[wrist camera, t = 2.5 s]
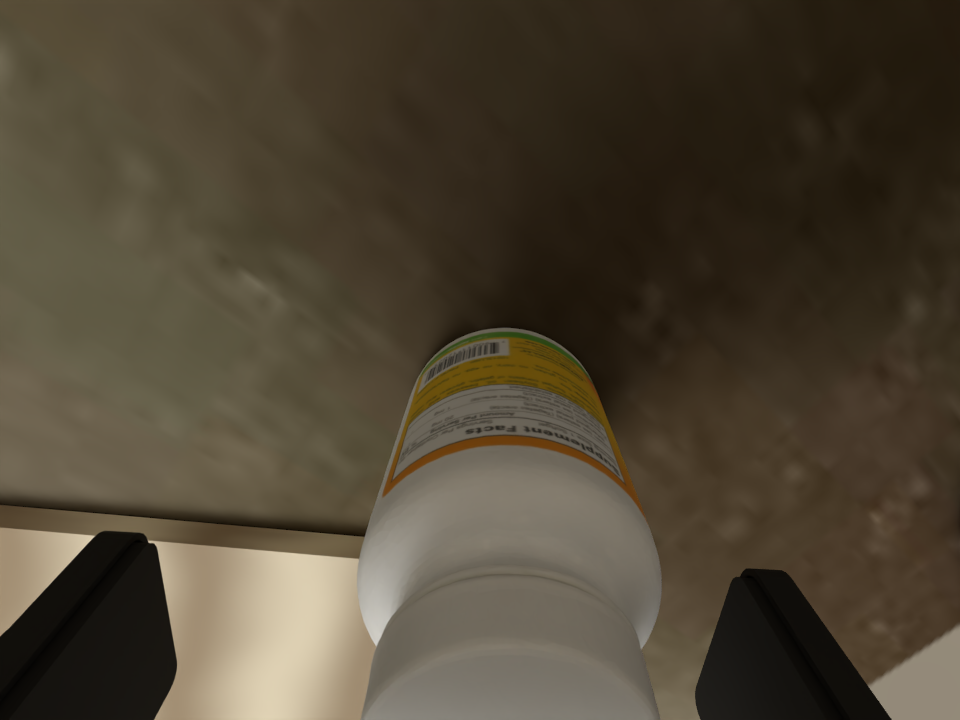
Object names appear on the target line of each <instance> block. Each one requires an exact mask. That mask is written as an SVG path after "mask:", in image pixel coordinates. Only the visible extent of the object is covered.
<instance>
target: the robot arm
mask: <svg viewBox="0 0 960 720" xmlns="http://www.w3.org/2000/svg"><path fill="white" fill-rule="evenodd" d="M176 672H177V658H176V652H175V646H174V641H173V635H172V629H171V624H170V618H169V612H168V606H167V601H166V595H165V589H164V584H163V578H162V572H161V566H160V561H159V555H158V550H157V547H156V545H155V544H154V543H148V540H147V537H146V536H145V535H144V533H137V532H120V531H102V532H100V533H98V534H97V535H96V536H95V537H93V539H92V540H91V541H90V542H89V543H88V544H87V545H86V546H85V547H84V548H83V549H82V550H81V551H80V553H79V554H78V555H77V556H76V557H75V558H74V559H73V560H72V561H71V562H70V563H69V564H68V565H67V566H66V568H65V569H64V570H63V571H62V572H61V573H60V574H59V575H58V576H57V577H56V578H55V579H54V580H53V581H52V583H51V584H50V585H49V586H48V587H47V588H46V589H45V590H44V591H43V592H42V593H41V594H40V595H39V596H38V598H37V599H36V600H35V601H34V602H33V603H32V604H31V605H30V606H29V607H28V608H27V609H26V610H25V611H24V613H23V614H22V615H21V616H20V617H19V618H18V619H17V620H16V621H15V622H14V623H13V624H12V625H11V627H10V628H9V629H7V630H6V631H5V632H4V633H3V634H2V635H1V636H0V720H154V719H155V717H156V715H157V713H158V712H159V710H160V708H161V706H162V704H163V702H164V700H165V699H166V697H167V695H168V693H169V691H170V689H171V687H172V685H173V682H174V680H175V676H176ZM695 699H696V706H697V710H698V714H699V716H700V719H701V720H891V718H890V717H889V715H888V714H887V713H886V711H885V710H884V708H883V707H882V705H881V704H880V703H879V701H878V700H877V698H876V697H875V695H874V694H873V693H872V691H871V690H870V688H869V687H868V686H867V684H866V683H865V681H864V680H863V679H862V677H861V676H860V674H859V673H858V671H857V670H856V669H855V667H854V666H853V664H852V663H851V662H850V660H849V659H848V657H847V656H846V655H845V653H844V652H843V650H842V649H841V648H840V646H839V645H838V643H837V642H836V640H835V639H834V638H833V636H832V635H831V633H830V632H829V631H828V629H827V628H826V626H825V625H824V624H823V622H822V621H821V619H820V618H819V616H818V615H817V614H816V612H815V611H814V609H813V608H812V607H811V605H810V604H809V602H808V601H807V600H806V598H805V597H804V595H803V594H802V593H801V591H800V590H799V588H798V587H797V585H796V584H795V583H794V581H793V580H792V578H791V577H790V576H789V575H788V574H787V573H786V572H784V571H782V570H767V569H745V570H744V571H743V572H742V574H741V576H740V577H735V578H734V579H733V580H732V582H731V584H730V587H729V590H728V593H727V596H726V599H725V602H724V605H723V608H722V611H721V614H720V617H719V620H718V623H717V626H716V629H715V632H714V635H713V638H712V641H711V644H710V647H709V650H708V653H707V656H706V659H705V662H704V665H703V668H702V671H701V674H700V677H699V680H698V683H697V686H696V691H695Z"/></svg>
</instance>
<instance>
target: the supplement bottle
mask: <svg viewBox="0 0 960 720" xmlns="http://www.w3.org/2000/svg"><path fill="white" fill-rule="evenodd" d="M357 591H358V599H359V606H360V610H361V614H362V617H363V621H364V623H365V626H366V628H367V630H368V632H369V635H370V637H371V639H372V640H373V642H374V644H375V645H376V649H375V652H374V655H373V659H372V663H371V669H370V676H369V683H368V688H367V692H366V697H365V702H364V706H363V711H362V715H361V720H660V716H659V712H658V708H657V704H656V701H655V697H654V693H653V689H652V686H651V682H650V679H649V675H648V672H647V668H646V663H645V660H644V656H643V653H642V651H641V649H642V648H643V646H644V644H645V643H646V641H647V640H648V638H649V636H650V634H651V631H652V629H653V627H654V624H655V621H656V618H657V615H658V611H659V607H660V600H661V592H662V579H661V569H660V563H659V557H658V553H657V550H656V547H655V544H654V541H653V537H652V534H651V531H650V529H649V526H648V523H647V520H646V518H645V515H644V512H643V510H642V507H641V505H640V502H639V499H638V497H637V494H636V492H635V489H634V487H633V484H632V481H631V479H630V476H629V473H628V471H627V468H626V466H625V463H624V460H623V458H622V455H621V453H620V450H619V448H618V445H617V443H616V440H615V438H614V435H613V432H612V430H611V427H610V425H609V422H608V420H607V417H606V414H605V412H604V409H603V407H602V404H601V401H600V399H599V396H598V394H597V391H596V389H595V387H594V385H593V383H592V380H591V378H590V377H589V375H588V373H587V371H586V370H585V369H584V367H583V366H582V364H581V363H580V362H579V361H578V360H577V359H576V358H575V357H574V356H573V355H572V354H571V353H570V352H569V351H568V350H566V349H565V348H564V347H563V346H561V345H560V344H558V343H556V342H555V341H553V340H551V339H549V338H547V337H545V336H543V335H540V334H538V333H535V332H532V331H528V330H523V329H516V328H494V329H486V330H481V331H477V332H473V333H470V334H467V335H465V336H463V337H460V338H458V339H456V340H455V341H453V342H451V343H449V344H448V345H446V346H445V347H444V348H442V349H441V350H440V351H439V352H438V353H437V354H435V355H434V356H433V357H432V359H431V360H430V361H429V362H428V363H427V364H426V366H425V367H424V369H423V370H422V372H421V373H420V375H419V377H418V379H417V381H416V383H415V385H414V388H413V390H412V393H411V396H410V399H409V402H408V405H407V408H406V411H405V414H404V417H403V420H402V423H401V426H400V429H399V433H398V436H397V439H396V442H395V445H394V448H393V451H392V454H391V457H390V460H389V463H388V466H387V470H386V473H385V476H384V479H383V482H382V485H381V488H380V491H379V494H378V497H377V500H376V503H375V506H374V509H373V512H372V515H371V518H370V521H369V524H368V527H367V531H366V534H365V538H364V541H363V545H362V548H361V553H360V557H359V563H358V572H357Z"/></svg>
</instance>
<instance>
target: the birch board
mask: <svg viewBox="0 0 960 720" xmlns="http://www.w3.org/2000/svg"><path fill="white" fill-rule="evenodd" d="M102 531H120V532H137V533H144V535H145V536H146V537H147V540H148V543H154V544H155V545H156V547H157V550H158V555H159V561H160V566H161V572H162V578H163V584H164V589H165V595H166V601H167V606H168V612H169V618H170V624H171V629H172V635H173V641H174V646H175V652H176V658H177V672H176V676H175V680H174V682H173V685H172V687H171V689H170V691H169V693H168V695H167V697H166V699H165V700H164V702H163V704H162V706H161V708H160V710H159V712H158V713H157V715H156V717H155V719H154V720H361V715H362V711H363V706H364V702H365V697H366V692H367V688H368V683H369V676H370V669H371V663H372V659H373V655H374V652H375V649H376V645H375V644H374V642H373V640H372V639H371V637H370V635H369V632H368V630H367V628H366V626H365V623H364V621H363V617H362V614H361V610H360V606H359V599H358V591H357V572H358V563H359V557H360V553H361V548H362V545H363V541H364V538H365V537H360V536H349V535H338V534H326V533H315V532H303V531H292V530H281V529H269V528H258V527H247V526H235V525H224V524H212V523H201V522H190V521H178V520H167V519H155V518H144V517H133V516H121V515H110V514H99V513H87V512H76V511H64V510H53V509H42V508H30V507H19V506H7V505H0V636H1V635H2V634H3V633H4V632H5V631H6V630H7V629H9V628H10V627H11V625H12V624H13V623H14V622H15V621H16V620H17V619H18V618H19V617H20V616H21V615H22V614H23V613H24V611H25V610H26V609H27V608H28V607H29V606H30V605H31V604H32V603H33V602H34V601H35V600H36V599H37V598H38V596H39V595H40V594H41V593H42V592H43V591H44V590H45V589H46V588H47V587H48V586H49V585H50V584H51V583H52V581H53V580H54V579H55V578H56V577H57V576H58V575H59V574H60V573H61V572H62V571H63V570H64V569H65V568H66V566H67V565H68V564H69V563H70V562H71V561H72V560H73V559H74V558H75V557H76V556H77V555H78V554H79V553H80V551H81V550H82V549H83V548H84V547H85V546H86V545H87V544H88V543H89V542H90V541H91V540H92V539H93V537H95V536H96V535H97V534H98V533H100V532H102Z"/></svg>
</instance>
